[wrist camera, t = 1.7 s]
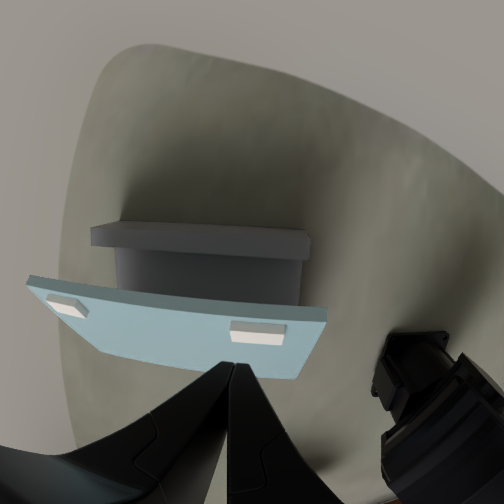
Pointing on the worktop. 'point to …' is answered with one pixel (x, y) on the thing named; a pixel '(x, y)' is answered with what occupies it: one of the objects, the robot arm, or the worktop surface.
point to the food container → (393, 501)
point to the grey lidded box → (207, 260)
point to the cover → (186, 327)
